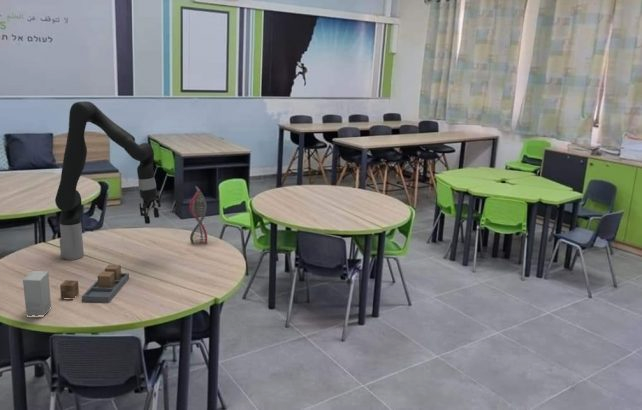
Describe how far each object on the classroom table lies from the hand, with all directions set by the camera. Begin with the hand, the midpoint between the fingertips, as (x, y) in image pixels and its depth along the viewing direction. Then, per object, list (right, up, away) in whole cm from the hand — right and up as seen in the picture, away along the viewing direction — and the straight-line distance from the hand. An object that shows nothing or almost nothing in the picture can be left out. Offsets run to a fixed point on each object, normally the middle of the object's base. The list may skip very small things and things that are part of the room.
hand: (152, 220), depth 257 cm
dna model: (+15, -13, +32) cm, 38 cm away
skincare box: (-28, -34, -48) cm, 65 cm away
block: (-23, -30, -34) cm, 51 cm away
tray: (-11, -28, -26) cm, 40 cm away
